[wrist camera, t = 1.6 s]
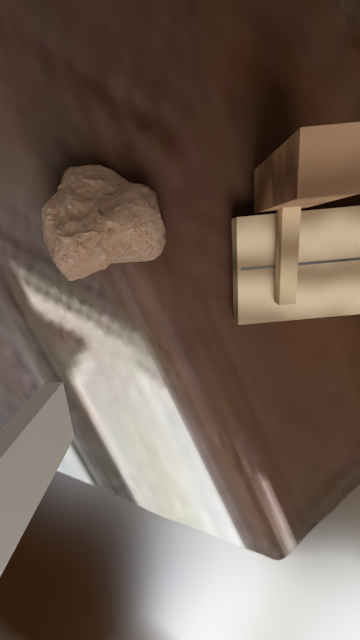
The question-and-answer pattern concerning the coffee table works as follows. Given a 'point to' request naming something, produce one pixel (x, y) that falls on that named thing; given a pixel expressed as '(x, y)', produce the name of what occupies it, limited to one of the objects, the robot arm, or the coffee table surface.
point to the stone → (100, 222)
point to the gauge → (304, 188)
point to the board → (313, 266)
